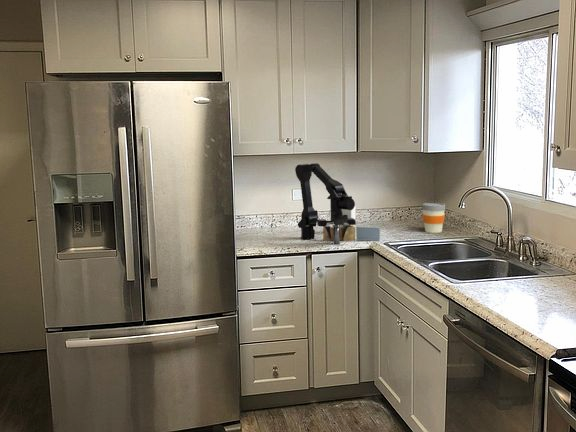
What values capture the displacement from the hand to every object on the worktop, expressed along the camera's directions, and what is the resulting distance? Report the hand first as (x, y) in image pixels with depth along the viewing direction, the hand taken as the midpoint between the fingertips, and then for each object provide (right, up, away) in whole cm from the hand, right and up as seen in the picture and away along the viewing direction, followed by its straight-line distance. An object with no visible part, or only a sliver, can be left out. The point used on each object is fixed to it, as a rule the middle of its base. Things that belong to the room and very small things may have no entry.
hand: (336, 238), depth 313 cm
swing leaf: (+17, -1, +7) cm, 18 cm away
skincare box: (+8, +1, +26) cm, 27 cm away
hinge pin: (0, -3, 0) cm, 2 cm away
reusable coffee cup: (+56, +3, +28) cm, 63 cm away
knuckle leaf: (+2, -1, +10) cm, 10 cm away
